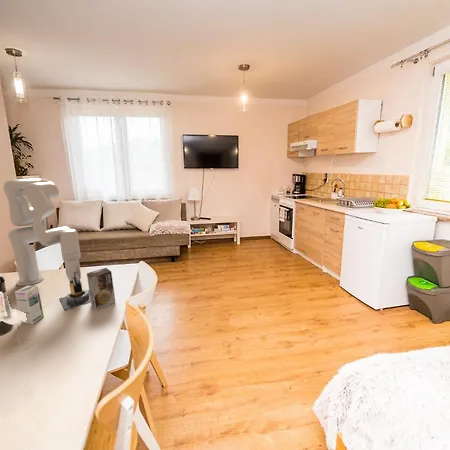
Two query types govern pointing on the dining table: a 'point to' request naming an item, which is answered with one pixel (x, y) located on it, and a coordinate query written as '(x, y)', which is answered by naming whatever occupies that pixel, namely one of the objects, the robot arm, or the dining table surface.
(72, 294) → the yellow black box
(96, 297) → the coffee box
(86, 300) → the ring fixture
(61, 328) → the dining table surface
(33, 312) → the syrup box
